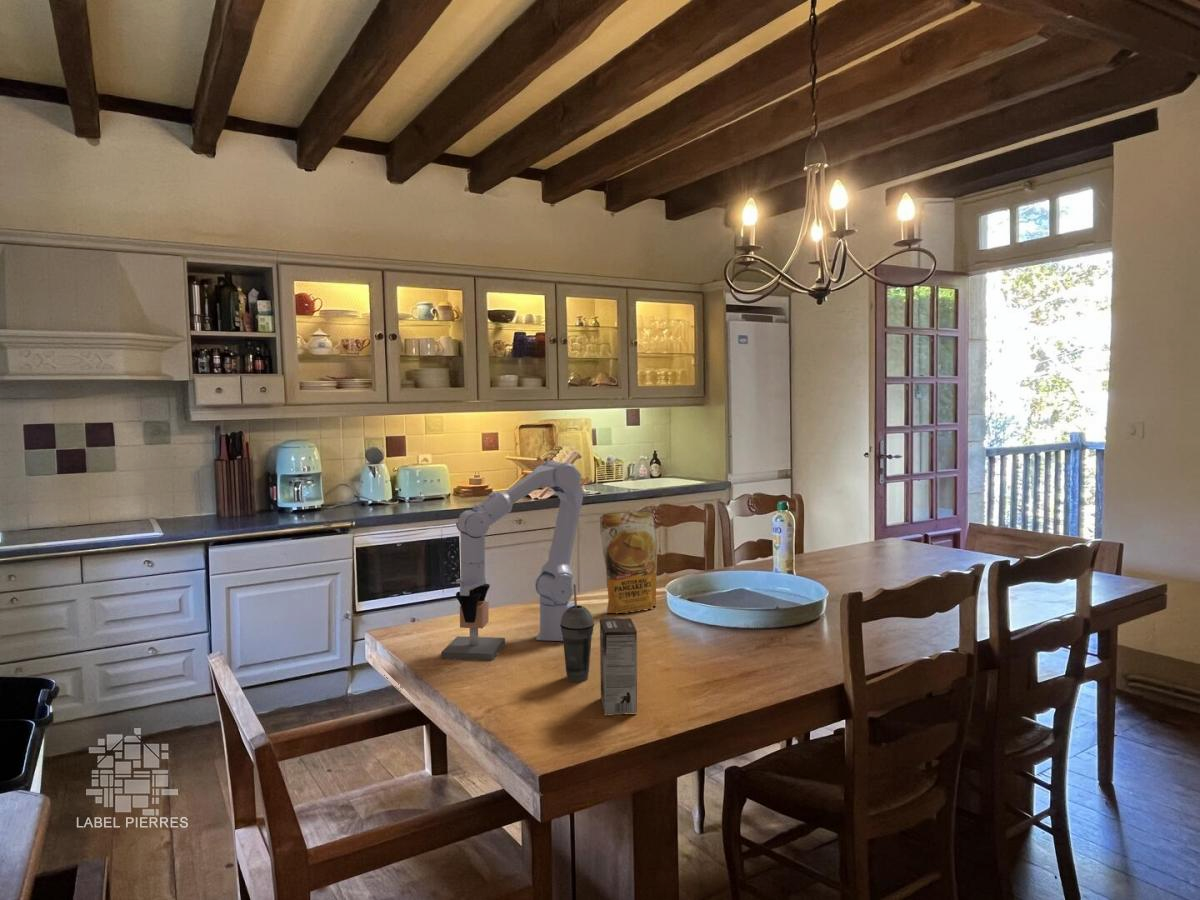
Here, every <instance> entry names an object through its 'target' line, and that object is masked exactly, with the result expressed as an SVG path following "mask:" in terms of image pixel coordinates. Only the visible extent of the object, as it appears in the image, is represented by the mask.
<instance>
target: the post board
mask: <svg viewBox="0 0 1200 900" xmlns="http://www.w3.org/2000/svg"><path fill="white" fill-rule="evenodd" d="M504 644H506V638H505V637H493V636H492V637H490V636H489V637H487V636H479V628H469V636H459V635H457V636H455V638H454V639H453V640H452V641H451V642H450V643H449V644H448V645H446V647H444V649H443V650H442V651H441V658H450V659H451V660H469V659H479V660H478V661H493V660H494V659H495V658H496V656H497V655H498V654H499V652H500V651H501V650H500V649H502V648H503V647H504V646H505V645H504ZM497 653H498V654H497ZM494 657H495V658H494ZM455 658H456V659H455ZM450 659H449V660H450Z"/></svg>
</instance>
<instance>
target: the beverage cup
mask: <svg viewBox="0 0 1200 900" xmlns="http://www.w3.org/2000/svg"><path fill="white" fill-rule="evenodd" d="M572 585H573V599H574V600H573V602H574V604H575V606H572V607H570V608H568V609H567V610H566V611H565V612H564V614H563V616H562V619H561V624H560V627H561V631H562V635H563V641H562V642H563V652H564V654H563V655H564V661H565V662H564V664H565V672H566V680H568V681H569V680H570V682H575V683H581V682H580V681H582V682H586V681H587V680H589V672H590V663H591V651H592V650H591V648H592V636H593V634H594V627H595V623H594V618H593V615H592V613H591V611H589V609H588V608H586V607H585V606H582V605H578V602H577V601H578V600H577V585H576V584H575V583H573V584H572Z"/></svg>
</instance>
